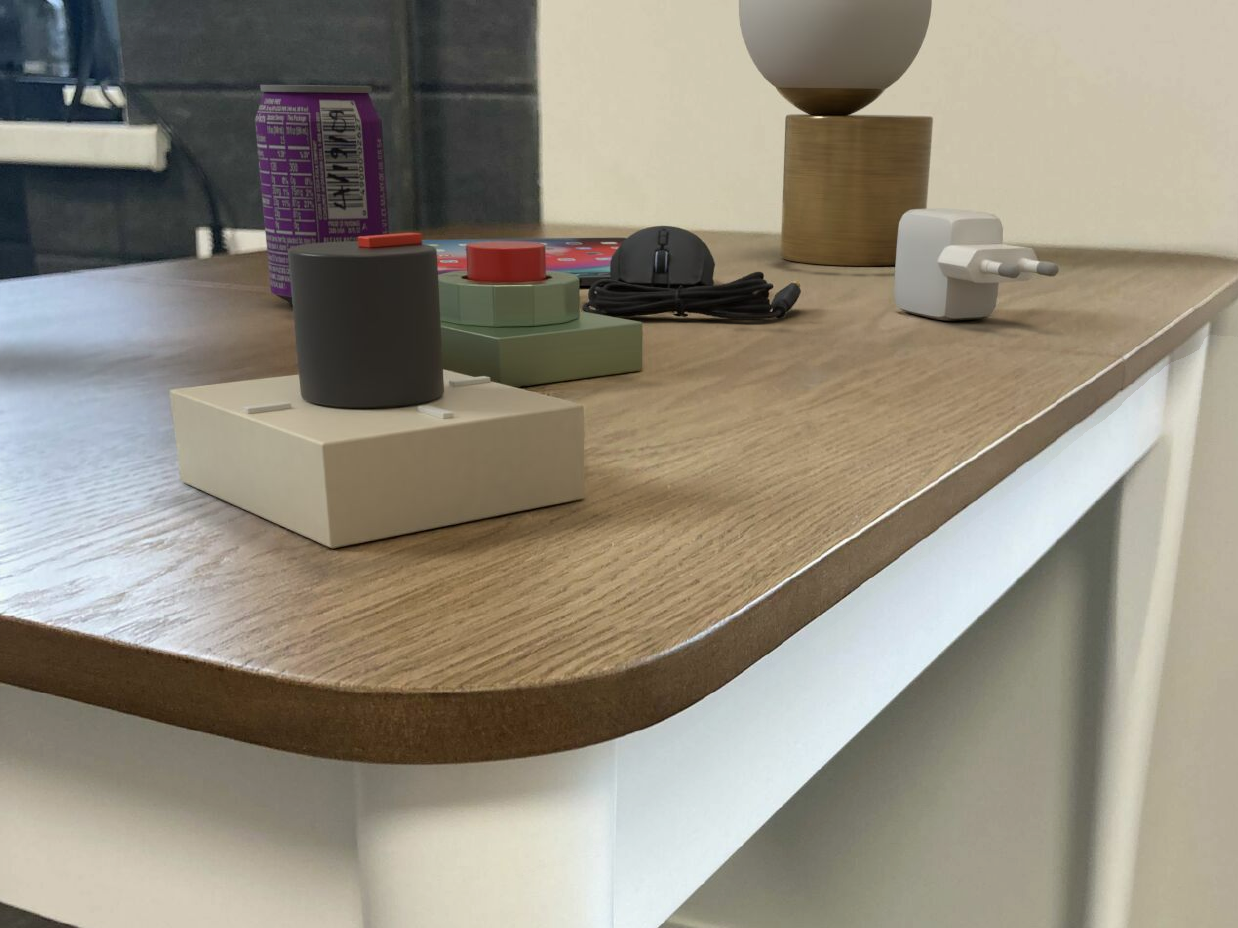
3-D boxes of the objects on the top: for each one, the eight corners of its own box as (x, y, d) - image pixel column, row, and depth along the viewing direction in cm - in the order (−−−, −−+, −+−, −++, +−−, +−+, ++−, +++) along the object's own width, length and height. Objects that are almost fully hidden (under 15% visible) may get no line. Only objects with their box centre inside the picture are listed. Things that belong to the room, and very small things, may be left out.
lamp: (778, 272, 107) (792, -123, 97) (705, 253, 119) (711, -100, 109) (959, 266, 112) (990, -110, 102) (872, 248, 124) (892, -89, 114)
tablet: (430, 290, 94) (430, 277, 94) (392, 250, 116) (391, 239, 116) (716, 285, 99) (717, 272, 99) (628, 247, 121) (628, 237, 121)
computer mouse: (807, 285, 98) (810, 221, 96) (794, 327, 82) (797, 252, 80) (624, 280, 99) (624, 216, 97) (577, 320, 83) (575, 246, 81)
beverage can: (410, 298, 91) (397, 86, 86) (367, 314, 85) (351, 86, 80) (301, 294, 92) (283, 85, 87) (251, 309, 86) (229, 84, 81)
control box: (179, 481, 48) (167, 384, 47) (417, 444, 54) (412, 356, 52) (331, 549, 41) (321, 437, 40) (586, 499, 47) (584, 398, 45)
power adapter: (1065, 333, 81) (1078, 221, 79) (993, 338, 79) (1004, 223, 77) (948, 307, 90) (956, 206, 88) (881, 311, 88) (887, 207, 86)
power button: (452, 283, 68) (450, 243, 67) (516, 278, 70) (515, 239, 70) (497, 291, 66) (495, 250, 65) (561, 285, 68) (561, 245, 67)
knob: (364, 415, 43) (351, 247, 41) (271, 395, 46) (256, 237, 44) (473, 394, 46) (466, 237, 45) (381, 377, 49) (370, 228, 47)
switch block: (380, 359, 70) (374, 272, 69) (517, 343, 75) (515, 262, 74) (500, 390, 64) (496, 294, 62) (643, 370, 68) (643, 281, 67)
